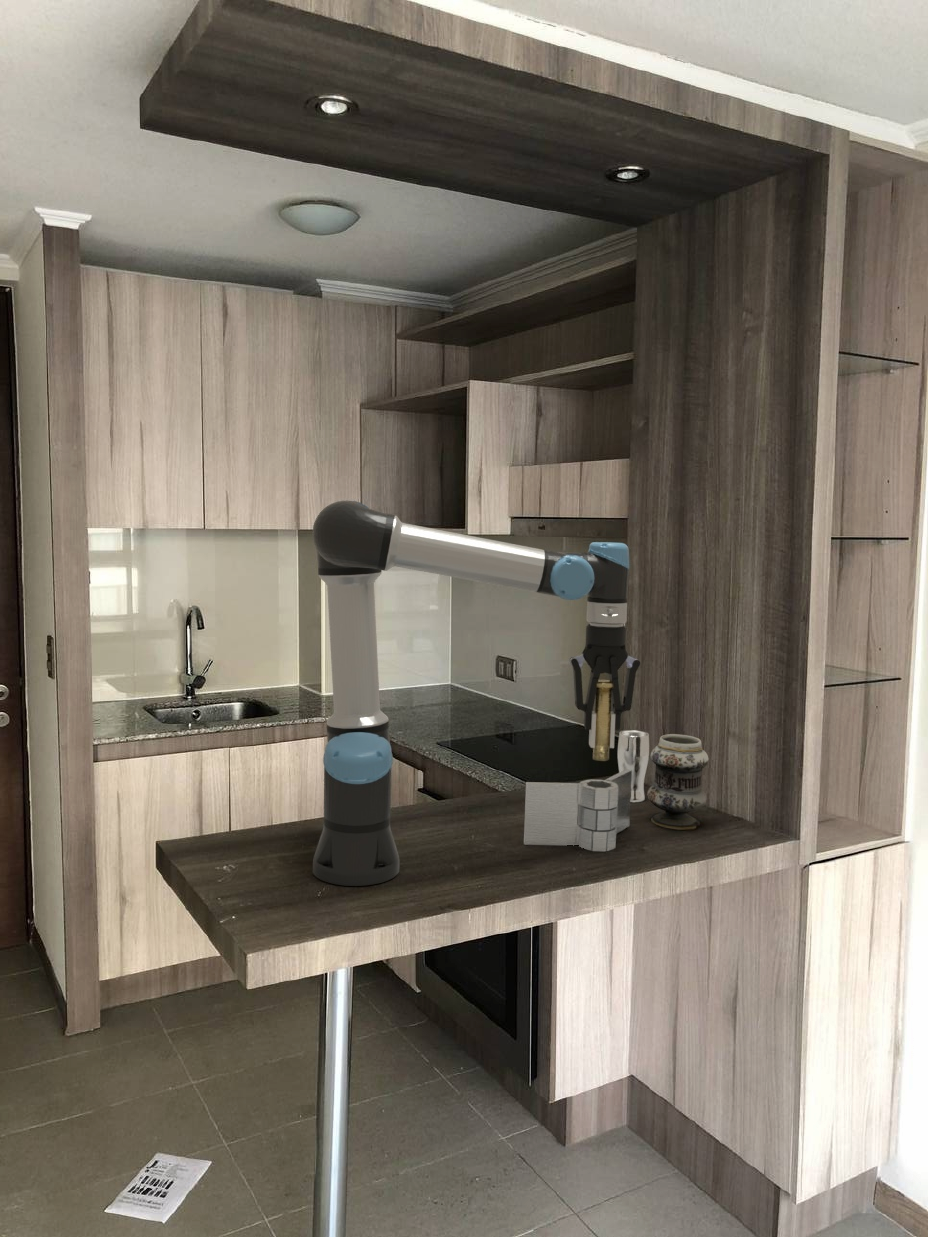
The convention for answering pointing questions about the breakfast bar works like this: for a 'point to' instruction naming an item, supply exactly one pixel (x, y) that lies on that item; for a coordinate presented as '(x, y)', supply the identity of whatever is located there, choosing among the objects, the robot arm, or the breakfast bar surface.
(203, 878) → the breakfast bar surface
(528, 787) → the hinge fixed leaf
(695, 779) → the apothecary jar
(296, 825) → the breakfast bar surface
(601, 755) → the brass pin
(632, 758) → the beer glass
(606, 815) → the hinge swing leaf
